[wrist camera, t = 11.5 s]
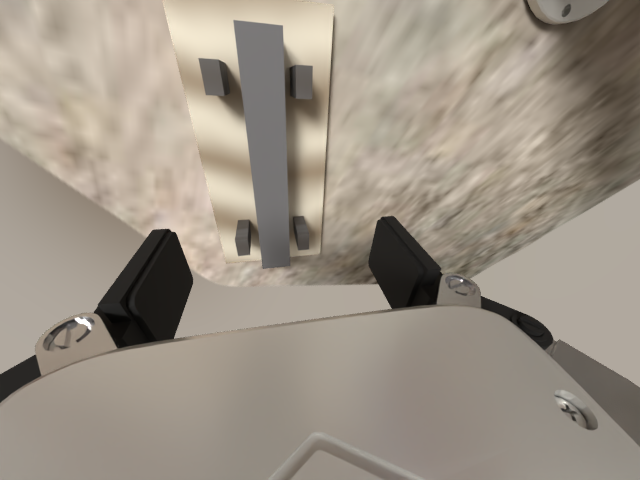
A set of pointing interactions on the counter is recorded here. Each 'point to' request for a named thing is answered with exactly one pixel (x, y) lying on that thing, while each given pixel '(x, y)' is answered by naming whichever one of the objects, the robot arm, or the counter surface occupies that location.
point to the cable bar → (266, 133)
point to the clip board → (229, 120)
